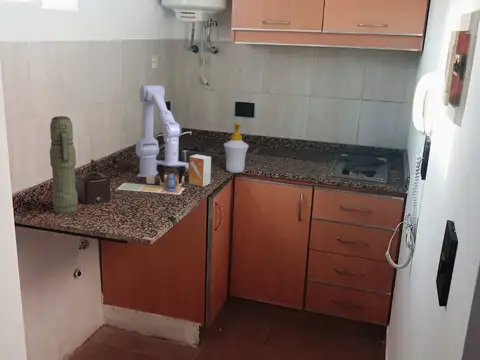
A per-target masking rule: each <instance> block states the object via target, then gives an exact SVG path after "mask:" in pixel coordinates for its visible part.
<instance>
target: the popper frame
mask: <svg viewBox="0 0 480 360" xmlns="http://www.w3.org/2000/svg"><path fill="white" fill-rule="evenodd" d="M168 175H169V174H164V182H163V183H162V182H161V178H160V179H159V186H167V180H166V178H167V176H168ZM174 175H175V174H174ZM175 177H177V178H178V181H177V180H175V187H181V188H182V186H183V184H184V183H185V175H183V177H182V181H181V184H179V175H175Z"/></svg>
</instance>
